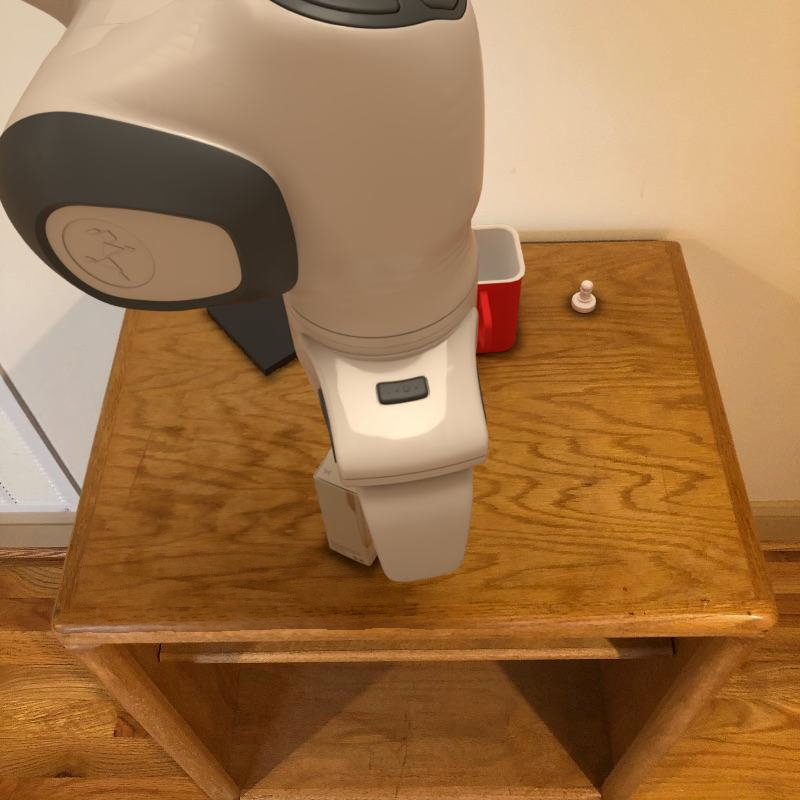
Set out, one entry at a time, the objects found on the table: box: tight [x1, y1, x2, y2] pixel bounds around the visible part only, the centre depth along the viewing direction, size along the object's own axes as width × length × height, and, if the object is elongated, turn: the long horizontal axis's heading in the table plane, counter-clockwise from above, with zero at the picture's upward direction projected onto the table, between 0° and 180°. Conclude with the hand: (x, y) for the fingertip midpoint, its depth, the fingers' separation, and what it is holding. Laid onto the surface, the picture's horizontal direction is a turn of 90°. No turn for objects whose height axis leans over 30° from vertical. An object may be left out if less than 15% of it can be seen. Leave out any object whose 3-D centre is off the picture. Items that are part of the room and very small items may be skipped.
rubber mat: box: [205, 295, 298, 376], centre depth 87 cm, size 12×12×1 cm
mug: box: [471, 223, 526, 354], centre depth 80 cm, size 12×8×11 cm
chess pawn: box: [571, 279, 597, 314], centre depth 85 cm, size 3×3×4 cm
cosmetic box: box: [312, 446, 378, 567], centre depth 66 cm, size 6×4×12 cm
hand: (395, 463), depth 48 cm, fingers open, 8 cm apart
